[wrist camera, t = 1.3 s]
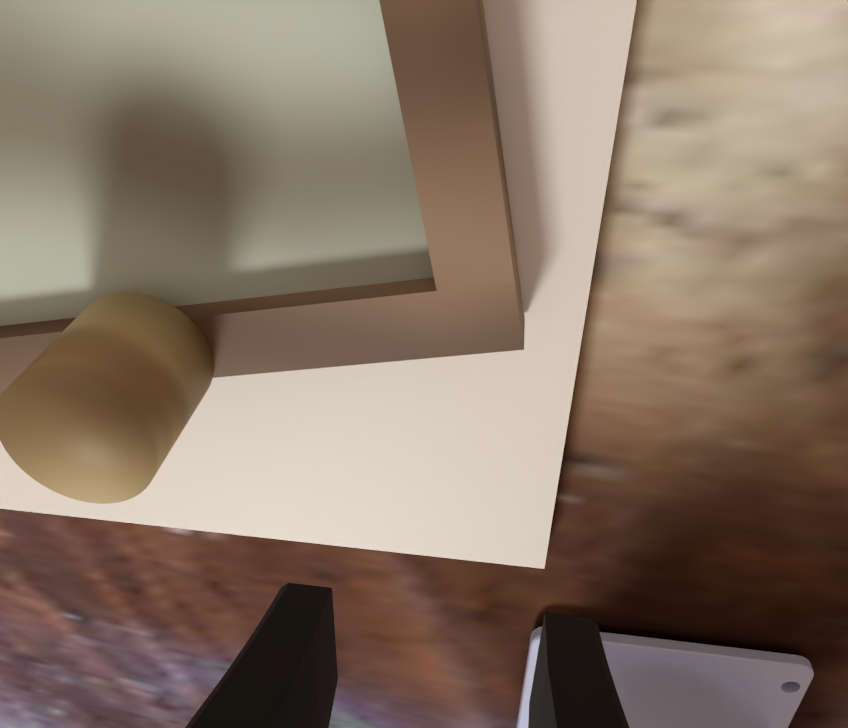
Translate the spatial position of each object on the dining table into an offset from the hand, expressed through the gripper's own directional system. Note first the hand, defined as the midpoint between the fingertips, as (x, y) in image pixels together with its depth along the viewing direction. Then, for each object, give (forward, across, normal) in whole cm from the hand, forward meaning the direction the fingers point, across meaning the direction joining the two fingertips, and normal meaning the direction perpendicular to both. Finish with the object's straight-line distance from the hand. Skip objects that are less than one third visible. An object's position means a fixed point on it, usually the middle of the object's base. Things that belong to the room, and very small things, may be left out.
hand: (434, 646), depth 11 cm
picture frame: (+8, +8, -4) cm, 11 cm away
